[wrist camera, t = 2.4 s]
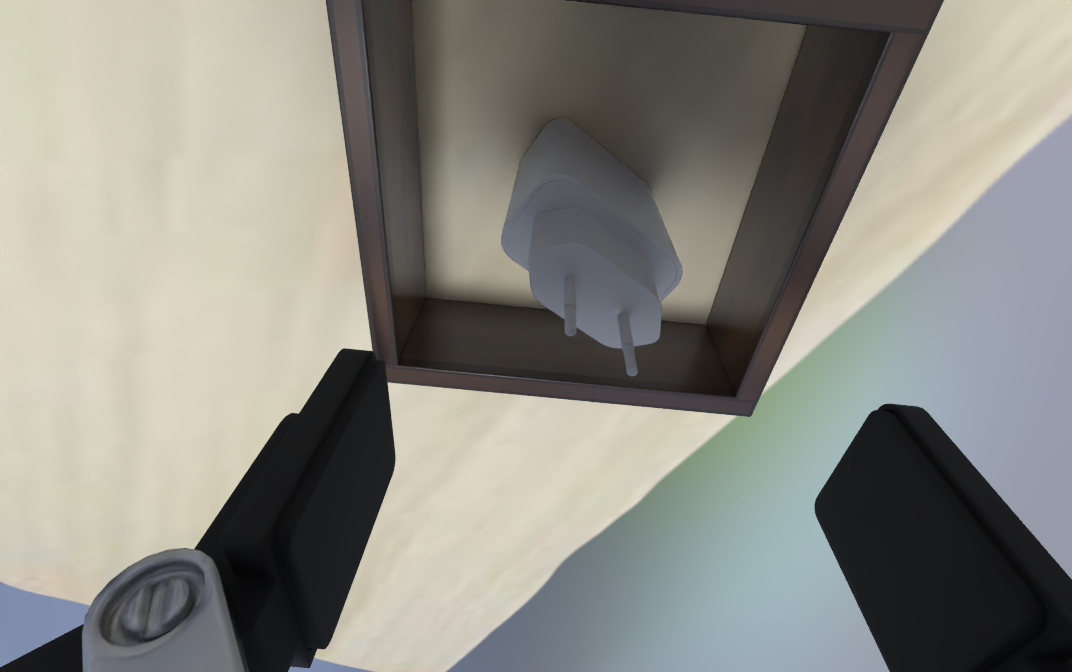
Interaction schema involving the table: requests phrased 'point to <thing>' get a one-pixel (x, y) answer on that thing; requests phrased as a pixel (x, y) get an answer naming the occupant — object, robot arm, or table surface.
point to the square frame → (682, 349)
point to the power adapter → (590, 240)
